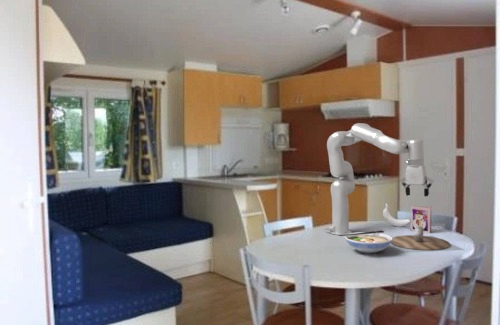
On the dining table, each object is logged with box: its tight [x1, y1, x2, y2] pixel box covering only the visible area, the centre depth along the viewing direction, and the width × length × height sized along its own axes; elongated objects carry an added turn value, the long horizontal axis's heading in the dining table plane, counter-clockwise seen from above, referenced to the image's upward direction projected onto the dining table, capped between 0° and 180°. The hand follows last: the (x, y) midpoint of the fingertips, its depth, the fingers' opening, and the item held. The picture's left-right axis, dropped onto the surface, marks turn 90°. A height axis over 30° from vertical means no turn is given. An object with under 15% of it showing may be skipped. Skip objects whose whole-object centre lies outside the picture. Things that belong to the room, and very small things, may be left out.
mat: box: [389, 235, 465, 253], centre depth 225 cm, size 31×31×1 cm
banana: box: [382, 202, 411, 228], centre depth 270 cm, size 5×19×15 cm, turn 45°
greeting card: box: [410, 205, 433, 234], centre depth 254 cm, size 11×7×15 cm, turn 42°
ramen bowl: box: [339, 230, 393, 254], centre depth 212 cm, size 25×23×8 cm
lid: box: [391, 227, 451, 252], centre depth 225 cm, size 29×29×8 cm
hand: (417, 195), depth 225 cm, fingers open, 9 cm apart
